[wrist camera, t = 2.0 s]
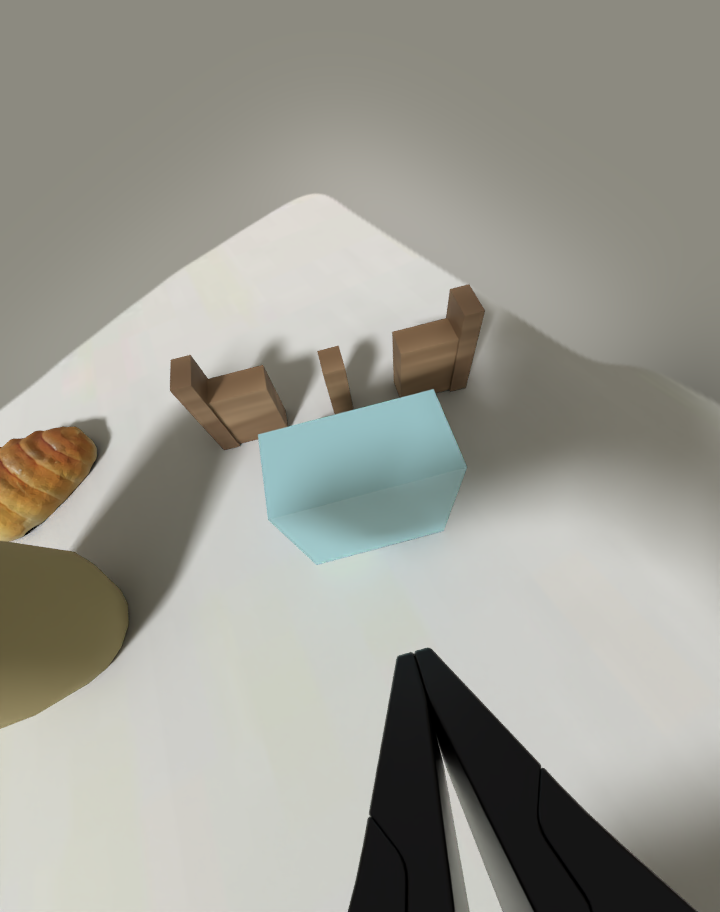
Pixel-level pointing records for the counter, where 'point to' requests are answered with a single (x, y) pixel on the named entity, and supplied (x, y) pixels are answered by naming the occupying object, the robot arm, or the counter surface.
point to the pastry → (40, 476)
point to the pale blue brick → (362, 477)
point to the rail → (332, 375)
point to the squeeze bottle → (53, 627)
